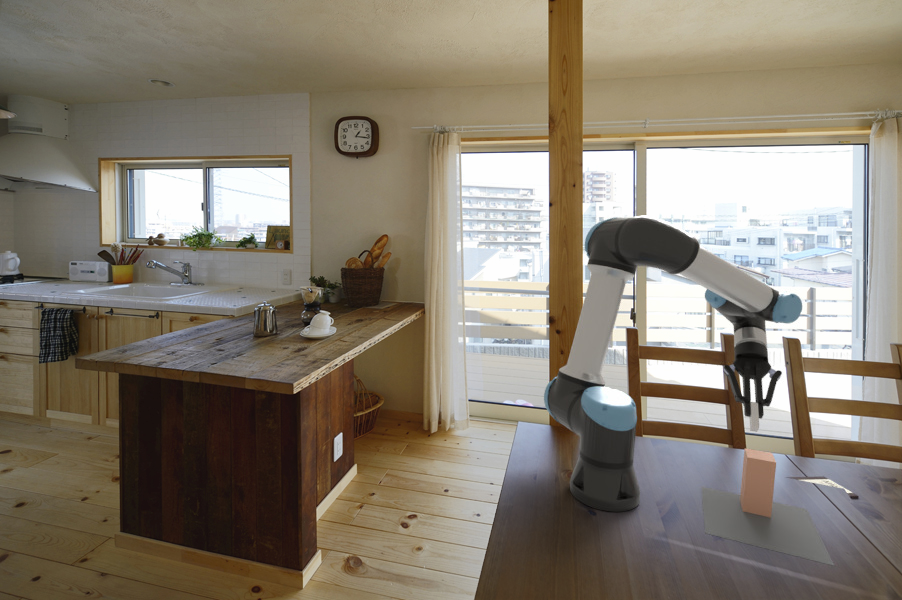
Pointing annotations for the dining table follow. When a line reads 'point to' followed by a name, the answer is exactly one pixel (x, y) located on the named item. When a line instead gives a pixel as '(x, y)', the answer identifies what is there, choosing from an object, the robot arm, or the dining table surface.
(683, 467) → the dining table surface
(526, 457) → the dining table surface
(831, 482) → the chocolate bar
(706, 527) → the mat
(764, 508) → the block
